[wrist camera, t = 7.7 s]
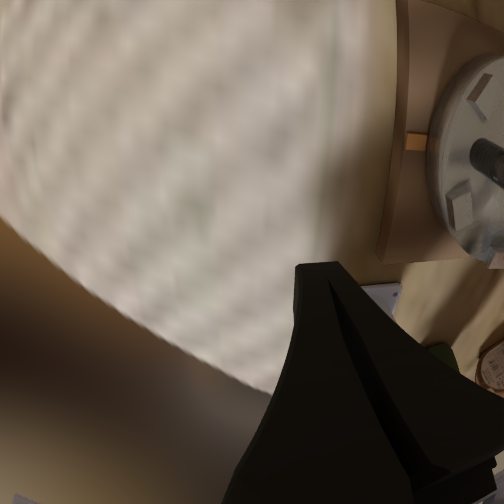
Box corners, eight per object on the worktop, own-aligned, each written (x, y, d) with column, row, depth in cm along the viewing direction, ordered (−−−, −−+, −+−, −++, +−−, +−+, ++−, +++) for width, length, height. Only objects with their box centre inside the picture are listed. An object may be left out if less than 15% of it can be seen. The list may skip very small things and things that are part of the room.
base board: (521, 242, 22) (531, 252, 20) (375, 252, 22) (383, 266, 20) (557, 70, 12) (569, 74, 10) (395, -1, 12) (408, -5, 10)
